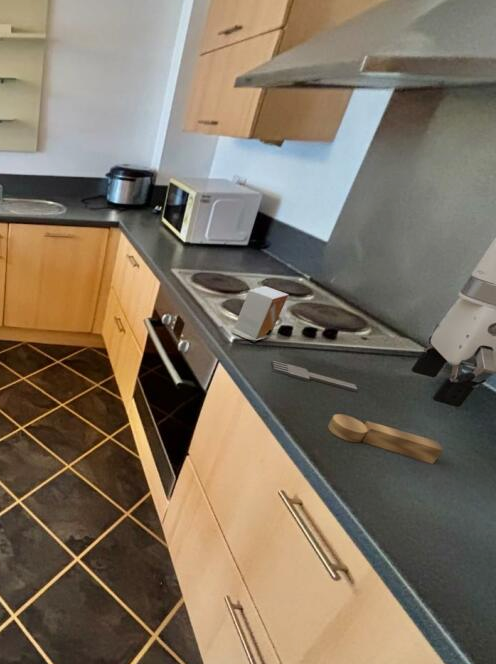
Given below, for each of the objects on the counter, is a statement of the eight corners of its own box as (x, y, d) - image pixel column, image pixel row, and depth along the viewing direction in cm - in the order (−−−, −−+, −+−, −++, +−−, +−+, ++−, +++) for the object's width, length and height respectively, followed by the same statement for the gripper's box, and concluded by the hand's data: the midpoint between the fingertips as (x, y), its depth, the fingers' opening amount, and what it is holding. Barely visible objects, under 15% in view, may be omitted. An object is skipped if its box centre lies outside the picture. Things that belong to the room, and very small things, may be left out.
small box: (254, 344, 109) (273, 298, 103) (231, 333, 113) (248, 289, 107) (270, 338, 113) (289, 294, 107) (247, 327, 117) (264, 285, 111)
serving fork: (352, 384, 94) (354, 381, 94) (357, 395, 90) (359, 392, 90) (271, 362, 100) (272, 359, 100) (272, 371, 97) (274, 368, 96)
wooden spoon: (424, 450, 75) (434, 437, 74) (435, 468, 71) (446, 455, 70) (325, 420, 81) (332, 407, 80) (330, 435, 77) (338, 422, 76)
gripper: (573, 322, 53) (489, 425, 61) (503, 283, 67) (441, 371, 75) (494, 307, 56) (423, 406, 64) (442, 272, 70) (389, 358, 78)
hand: (433, 387), depth 69 cm, fingers open, 9 cm apart
